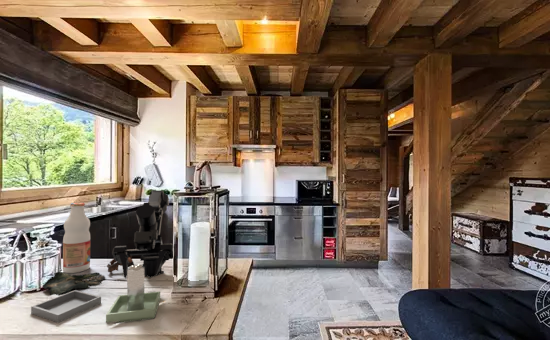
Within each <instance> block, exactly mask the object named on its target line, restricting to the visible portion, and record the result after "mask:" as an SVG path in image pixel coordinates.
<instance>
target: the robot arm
mask: <svg viewBox="0 0 550 340" xmlns="http://www.w3.org/2000/svg"><path fill="white" fill-rule="evenodd" d="M169 205H170V197H169V195H168V194H166V193H164V190H161V189H160V190H151V191H150V194H149V196H148V201H147V202H143V204H142V205H140V206H139V207H138V208H137V209H136V211H135V215H136V218H137V221H138V225H139V229H138V230H139V231H136V232H134V238H133V239H134V240H133V243H134V247H135V249H134V248H133V249H129V248H128V245H116V246H114V247H113V248H112V252H111V255H112V257H113V259H114V260H115V261H118V262H119V263H122V266H121V267H122V272H123V273H122V274H123V278H124V279H126V278H127V270H128V269H129V267H128V263H129V261H128V258H129V256H132V257H133V256H140V257H139V258H140V259H139V260H140V261H141V262H142V264H141V265H142V266H144V267H145V277H147V278H153V277H156V276H158V275H162V274H163V273H165V271H164V270H163V269H162V267H163V265H164V264H165V263H166V262H167V261H169V260H170V259H172V258H174V257H173V248H174V244H173V243H163V239H162V236H161V227H162V221H163V216H164V215H163V214H164V213H166V212H167V210H168V206H169Z"/></svg>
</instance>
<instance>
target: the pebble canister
mask: <svg viewBox="0 0 550 340" xmlns="http://www.w3.org/2000/svg"><path fill="white" fill-rule="evenodd" d="M145 277H146V276H145V267H144V266H142V264H140V263H139V264H137V265H135V264H134V265H133V266H130V267H128V270H127V276H126V278H127V279H126V281H127V284H126V285H127V287H126V288H127V289H126V295H127V311H136V310H143V309H144V293H145V281H146V280H145Z"/></svg>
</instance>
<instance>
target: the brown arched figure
mask: <svg viewBox="0 0 550 340" xmlns="http://www.w3.org/2000/svg"><path fill="white" fill-rule="evenodd" d="M128 261H129V263H128V268H130V267H131V266H133V265H134V266H135V263H134V261H133V255H132V256H129V258H128ZM106 267H107V272H108V273H109V274H112V273H113V272H114V271H119V267H122V263H119V262H118V261H115V260H114V258H113V259H112V260H110V262H109V263H108V264H107V265H106Z"/></svg>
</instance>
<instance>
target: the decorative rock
mask: <svg viewBox="0 0 550 340" xmlns="http://www.w3.org/2000/svg"><path fill="white" fill-rule="evenodd" d="M104 279H106V276H105V275H103V274H101V273H100V272H92V273H85V274H80V275H79V274H77V275H76V274H70V273H65V272H62V271H55V273H54V276H51V277H50V278H48V279H47V280H46V282H45V283H44V284H43V285H42V288H43V289H46V290H47V291H49V295H50V296H52V295H56V296H61V295H62V293H63V294H64V293H69V292H70V291H71V290H72V289H75V290H77V289H90V288H91V287H96V286H98V285H99V286H100V285H101V284H102V280H104Z"/></svg>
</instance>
